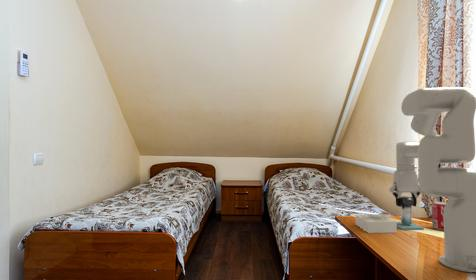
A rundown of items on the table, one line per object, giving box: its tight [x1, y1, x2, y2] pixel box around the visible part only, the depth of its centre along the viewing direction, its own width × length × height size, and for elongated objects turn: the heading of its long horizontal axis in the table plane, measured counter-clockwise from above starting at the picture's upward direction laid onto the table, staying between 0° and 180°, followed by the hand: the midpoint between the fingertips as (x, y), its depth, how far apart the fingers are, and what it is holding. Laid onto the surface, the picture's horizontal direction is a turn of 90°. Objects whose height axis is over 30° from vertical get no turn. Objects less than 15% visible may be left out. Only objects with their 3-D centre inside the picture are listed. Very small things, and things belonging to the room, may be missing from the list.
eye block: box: [355, 213, 398, 234], centre depth 138 cm, size 13×13×5 cm
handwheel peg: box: [400, 195, 414, 224], centre depth 141 cm, size 6×6×12 cm
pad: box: [397, 221, 425, 231], centre depth 141 cm, size 10×10×1 cm
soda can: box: [431, 201, 447, 231], centre depth 137 cm, size 7×7×12 cm
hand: (406, 205), depth 141 cm, fingers closed on handwheel peg, 6 cm apart
